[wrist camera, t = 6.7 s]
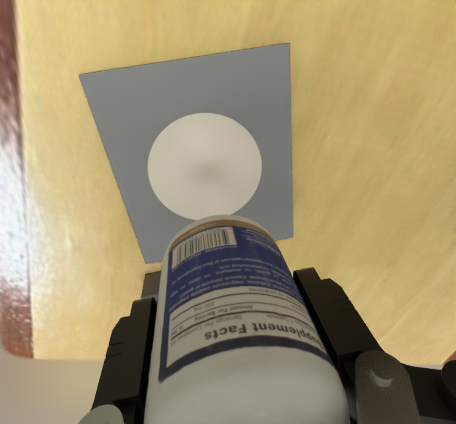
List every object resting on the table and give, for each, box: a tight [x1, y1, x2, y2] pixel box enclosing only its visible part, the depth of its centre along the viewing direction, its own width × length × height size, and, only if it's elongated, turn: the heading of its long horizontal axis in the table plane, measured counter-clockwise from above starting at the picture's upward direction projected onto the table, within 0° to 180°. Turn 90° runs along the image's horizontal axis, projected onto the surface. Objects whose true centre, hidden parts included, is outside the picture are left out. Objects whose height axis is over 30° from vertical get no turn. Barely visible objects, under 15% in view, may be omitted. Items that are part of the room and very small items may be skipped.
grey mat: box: [79, 43, 293, 264], centre depth 23 cm, size 14×16×1 cm
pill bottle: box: [144, 215, 350, 424], centre depth 9 cm, size 5×5×10 cm
